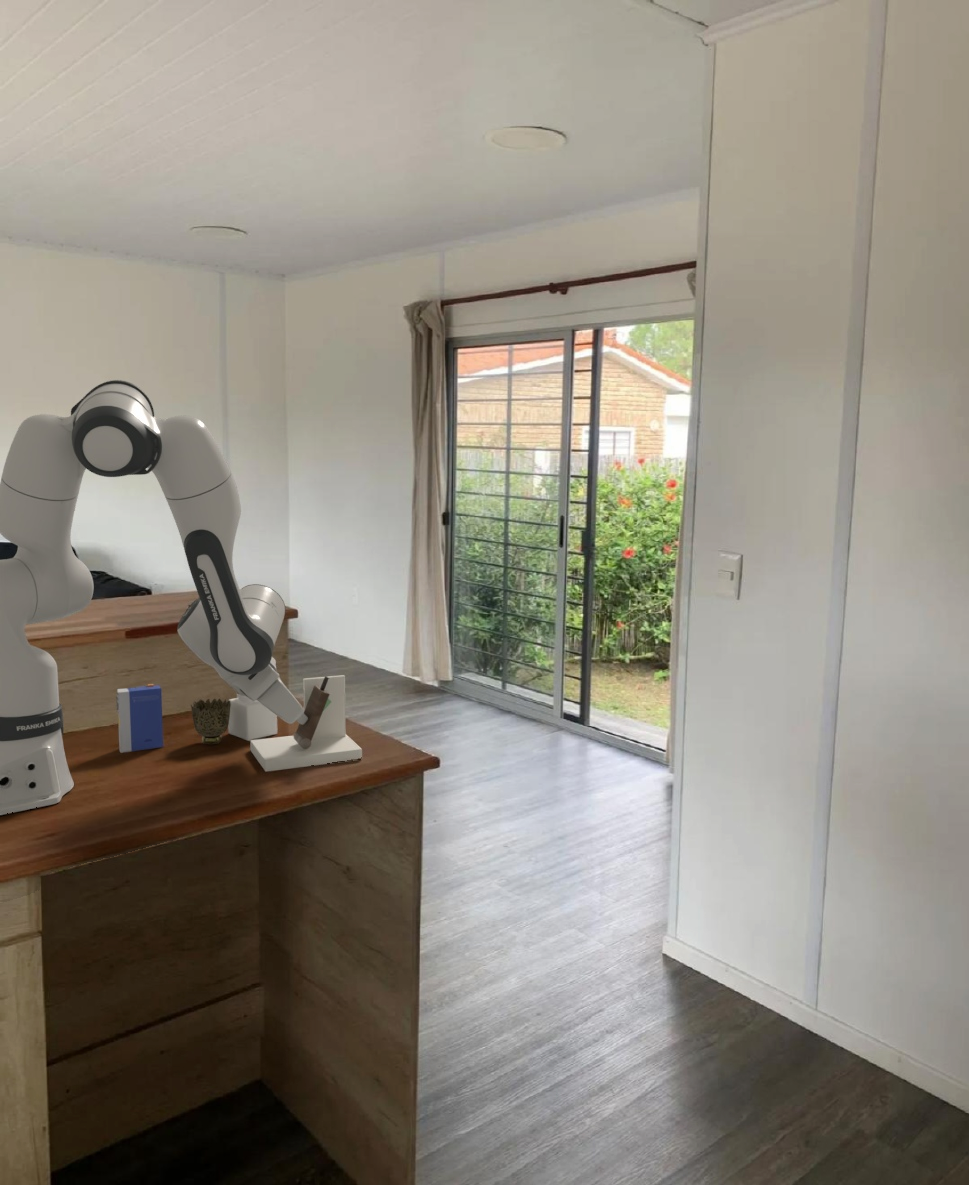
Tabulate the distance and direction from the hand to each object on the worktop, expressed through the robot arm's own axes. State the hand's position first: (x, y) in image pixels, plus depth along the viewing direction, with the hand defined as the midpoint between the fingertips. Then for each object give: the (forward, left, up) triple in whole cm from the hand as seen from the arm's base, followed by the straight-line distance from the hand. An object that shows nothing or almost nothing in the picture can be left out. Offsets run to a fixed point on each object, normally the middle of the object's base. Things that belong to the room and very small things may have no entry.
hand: (303, 720), depth 179 cm
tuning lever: (0, 0, -4) cm, 4 cm away
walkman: (-17, +27, -7) cm, 33 cm away
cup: (-6, +20, -7) cm, 22 cm away
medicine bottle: (+3, +19, -7) cm, 21 cm away
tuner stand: (+1, +1, -7) cm, 7 cm away
